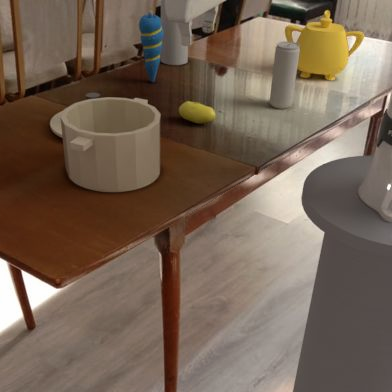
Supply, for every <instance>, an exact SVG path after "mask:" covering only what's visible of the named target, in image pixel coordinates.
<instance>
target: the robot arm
mask: <svg viewBox="0 0 392 392" xmlns="http://www.w3.org/2000/svg"><path fill="white" fill-rule="evenodd" d="M226 1H227V0H165V13H166V16H167V19H168V20H169V21H171V22H176V23H178V27H179V30H180V34H181V45H182V46H187V47H188V48H189V47H190V46H192V45H193V44H194V36H195V35H194V33H192V26H193V20H194V19H196V18H198V17H200V16H201V15H203V14H204V20H203V21H202V27H201V31H202V32H203V33H204V34H210V33H213V32H214V31H215V21H216V18H217V15H218V11H219V5H220V4H222V3H225V2H226ZM373 156H374V157H373V160H372V162H371V165H370V167H369V169H368V172H367V174H366V176H365V178H364V180H363V181H362V183H361V185H360V186H359V188H358V195H359V197H360V198H361V200H362V201H363V202H364V203H365V204H367V205H368V206H369V207H371V208H373V209H374V210H376V211H377V212H378V213H379V214H380V216H381V217H382V218H383V219H384V220H385V221H387V222H391V223H392V91H391V93H390V96H389V101H388V105H387V108H385V110H384V112H383V114H382V116H381V119H380V123H379V127H378V131H377V136H376V149H375V152H374V154H373Z"/></svg>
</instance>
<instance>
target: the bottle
mask: <svg viewBox="0 0 392 392" xmlns="http://www.w3.org/2000/svg"><path fill="white" fill-rule="evenodd" d="M160 19H161V21H162V28H163V32H164V35H163V38H162V50H161V53H160V63H163V64H165V65H169V66H181V65H185V64H188V61H189V60H188V58H189V47H187V46H182V45H181V34H180V30H179V27H178V23H176V22H171V21H169V20H168V19H167V16H166V13H165V0H160Z"/></svg>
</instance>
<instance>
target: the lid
mask: <svg viewBox="0 0 392 392" xmlns="http://www.w3.org/2000/svg"><path fill="white" fill-rule="evenodd" d="M96 98H101V94H100V93H98V92H88V93H86V94H85V100H88V99H96ZM62 113H63V110H61V111H59V112H57V113H56V114H54V115H53V116H51V119H50V121H49V128H50V130H51V131H52V133H53V134H54V135H56V136H57V137H59V138H62V139H63V137H62V128H61V119H60V117H61V115H62Z"/></svg>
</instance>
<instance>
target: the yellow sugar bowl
mask: <svg viewBox="0 0 392 392" xmlns="http://www.w3.org/2000/svg"><path fill="white" fill-rule="evenodd" d="M330 17H331V11H330V10H329V9H327V10H325V11H324V12H323V17H321V18H320V21H310V22H308V23H306V25H305V26H304V27H301V26H297V25H294V24H288V25H286V26H285V28H284V37H285V39H286V41H289V42H294V40H293V32H299V33H300V34H299V36H298V38H297V40H296V42H295V43H297V44H299V45H300V47H299V49H300V52H299V59H298V66H297V71H298V70H299V72H301V73H300V74H299V76H300V77H301V78H304V79H309V78H311V76H312V74H315V75H324V79H325V80H326V81H335V80H336V78H335V75H339V74H341V73H342V72H343V71H344V69H345V68H346V67H347V65H348V63H349V57H351V55H353V54H354V52H356V50H358V48H359V47H360V46H361V45H362V43H363V41H364V39H365V33H364V32H363V31H359V30H352V31H346V30H345V27H344V25H342V24H339V23H334V22H333V19H332V18H330ZM348 37H354V38H355V41H354V43H353V45H352V46H351V48H350V49H349V46H350V45H349V41H348Z"/></svg>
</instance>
